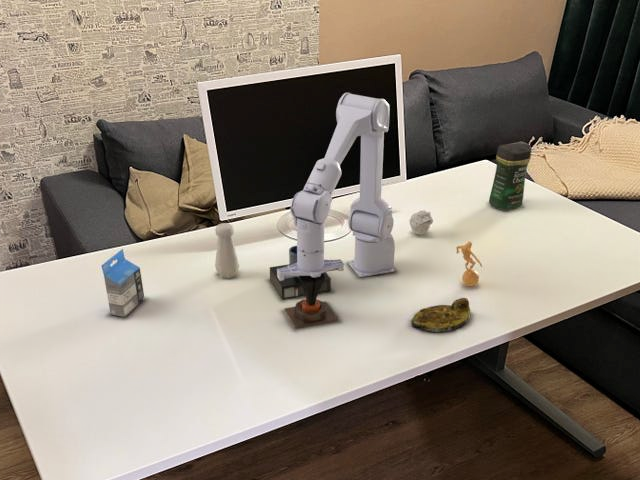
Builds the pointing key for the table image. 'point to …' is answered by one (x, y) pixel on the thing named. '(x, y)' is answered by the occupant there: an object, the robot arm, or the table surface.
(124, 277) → the blue and grey carton
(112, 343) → the table surface
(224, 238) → the salt shaker
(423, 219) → the crumpled paper ball
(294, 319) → the control pad
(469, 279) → the figurine
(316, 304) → the button
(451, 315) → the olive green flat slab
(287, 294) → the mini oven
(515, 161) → the coffee jar
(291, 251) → the cup
